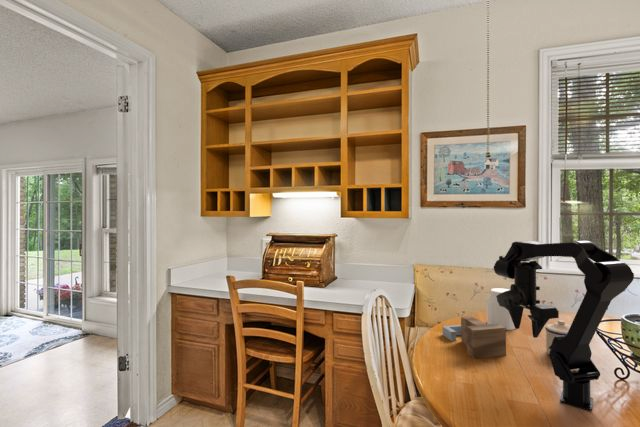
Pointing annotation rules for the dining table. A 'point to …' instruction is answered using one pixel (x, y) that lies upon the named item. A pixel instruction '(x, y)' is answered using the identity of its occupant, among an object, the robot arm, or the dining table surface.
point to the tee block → (483, 338)
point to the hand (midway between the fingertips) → (525, 332)
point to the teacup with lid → (555, 332)
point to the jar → (498, 311)
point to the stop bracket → (451, 332)
